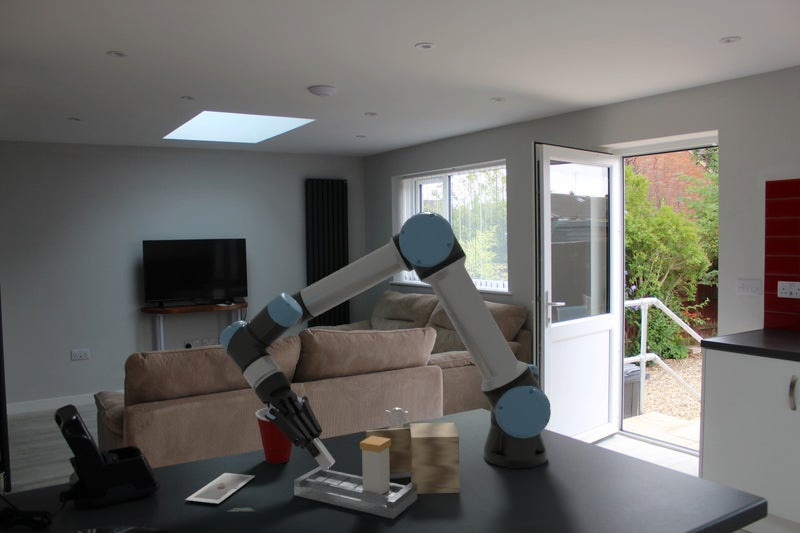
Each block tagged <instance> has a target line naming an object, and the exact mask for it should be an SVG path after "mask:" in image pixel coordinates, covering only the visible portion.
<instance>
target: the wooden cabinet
mask: <svg viewBox="0 0 800 533" xmlns="http://www.w3.org/2000/svg"><path fill="white" fill-rule="evenodd" d="M370 436H376V437H383V438H389V439H391V446H390V447H389V474H390V475H391V474H401V473H402V474H403V473H410V483H416V484H417V495H421V494H423V495H424V494H455V493H456V494H458V493H459V494H460V492H461V491H460V487H461V486H460V484H461V482H460V481H461V480H460V479H461V478H460V436H459V433H458V430H457V427H456V424H455V422H417V423H416V422H415V423H413V422H412V423H409V427H403V428H393V429H388V428H384V429H383V428H381V429H367V430H365V439H367V438H369V437H370Z"/></svg>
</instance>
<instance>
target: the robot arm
mask: <svg viewBox="0 0 800 533" xmlns="http://www.w3.org/2000/svg"><path fill="white" fill-rule="evenodd" d="M466 260H467V255H466V252H465V251H464V249H463V247H462V246H461V244H460V242H459V240H458V239H457V237H456V235H455V233H454V230H453V227H452V225H451V224H450V222H449V221H448V220H447V219H446V218H445V217H444V216H443V215H442V214H441V215H440V213H437V212H433V211H422V212H421V211H420V212H418V213H416V214H413V215H412V216H411V217H410V218H407V220H406V221H405V222H404V223H403V225H402V226H401V228H400V231H399V232H398V233H396V234H395V235H393V236H391V237H390V239H389V242H388V243H387V244H385V245H383V246H380V247H379V248H378V249H376V250H374V251H371V252H370V253H368V254H366V255H365V256H363V257H361V258H359V259H357V260H355V261H353V262H351V263H349V264H348V265H346V266H344V267H342V268H340V269H339V270H336V271H334V272H332V273H331V274H329V275H328V276H325V277H323V278H322V279H320V280H318V281H316V282H314V283H311V284H310V285H309V286H306V287H305V288H303V289H301V290H299V291H298V292H294V294H292V295H290V294H287V293H285V292H280V293H278V294H277V295H276V296H275V297H274V298H272V299H270V300H269V301H268V303H266V305H265V306H264V307H263V308H262V309H261V310H260V311H259V312H257V314H256V315H255V316H253V318H251V320H250V321H248V322H247V321H245V320H237V321H235V322H233V323H231V324H230V325H228V326H227V327H226V328H224V330H222V332H221V333H220V336H219V342H220V345H221V346H222V347H223V349H224V351H225V352H226V355H227V356H228V357H229V358H230V360H231V361H232V362H233V363H234V366H236V368H237V369H238V371H239V372H240V373H241V374H242V376H243V377H244V378H245V380H246V381H247V383H248V385H249V386H250V387H251V389H252V390H254V393H255V395H256V396H257V398H258V399H259V400H260V402H261V403H262V404H263V405H266V408H269V410H268V412H267V413H266V414H265V418H266V419H267V420H269V421H270V422H272V423H273V424H274V425H275V426H276V427H277V428H278V429H279V430H280V431H281V432H282V433H283V434H284V435H285V436H286V437H287V438H288V439H289V440H290V441H291V442H292V443H293V444H292V445H294V447H297V448H298V447H299V448H300V449H301V450H303V449H305V448H306V450H307V451H308V453H309V454H310V455H311V457H312V458H314V459H315V460H316V462H317V463H318V465H319V466H321V467H322V469H323V470H324V471H326V470H330V468H332V466H333V465H334V464H335V463H336V460H335V458H333V456H332V454H331V453H330V452H329V450H328V448H327V446H326V445H325V443H324V442H323V441H322V440H321V438H320V436H321V435H322V432H323V429H322V427H321V425H320V423H319V420H318V418H317V417H316V415H315V413H314V411H313V409H312V407H311V405H310V403H309V402H310V401H309V398H308V396H306V395H304V396H303V397H300V396H298V395H297V393H296V392H294V391H293V390H292V388H291V385H292V383H291V381H290V379H289V378H288V376H287V375H286V374H285V372H283V371H281V367H280V366H279V363H278V362H276V361H275V358H273V357H272V355H271V354H270V353H269V351H268V349H269V348H270V347H272V346H273V345H274V343H276V342H277V341H278V340H279V339H281V337H282V336H283V335H284V334H286V333H287V332H289V331H291V330H293V329H295V328H297V327H298V328H299V327H300V326H302V325H304V324H305V323H307V322H308V321H311V320H312V319H314V318H316V317H317V316H319V315H321V314H324V313H325V312H327V311H329V310H331V309H332V308H334V307H336V306H338V305H340V304H342V303H344V302H345V301H348V300H350V299H352V298H353V297H355V296H357V295H359V294H361V293H364V292H365V291H367V290H369V289H371V288H373V287H374V286H376V285H379V284H380V283H383V282H384V281H386V280H389V279H390V278H392V277H394V276H395V275H398V274H399V273H402V272H403V271H406V272H409V273H411V272H412V271H414V272H415V274H416V276H417V277H418V279H419V281H420V282H421V283H423V284H427V285H429V286H431V288H432V290H433V292H434V294H435V296H436V298H437V299H438V301H439V303H440V304H441V306H442V308H443V310H444V312H445V313H446V315H447V317H448V318H449V321H450V322H451V324H452V326H453V327H454V330H455V331H456V333H457V335H458V337H459V338H460V340H461V342H462V344H463V345H464V347H465V349H466V350H467V352H468V354H469V356H470V358H471V360H472V362H473V363H474V365H475V367H476V369H477V370H478V372H479V374H480V375H481V377H482V383H481V387H480V390H481V391H482V393H483V395H484V397H485V399H486V401H487V402H488V404H489V406H490V426H489V428H488V433H487V434H486V435H487V436H486V439H485V442H484V445H483V458H484V459H485V460H486V461H487V462H488V463H491V464H493V465H495V466H499V467H502V468H509V469H510V468H511V469H529V468H536V467H539V466H541V465H544V464H545V463H546V462H547V458H548V457H547V448H546V445H545V442H544V438H543V434H542V432H543V431H544V430H545V429H546V428H547V426H548V424H549V422H550V419H551V414H552V413H551V403H550V400H549V397H548V396H547V395H546V393H545V392H544V391H543V390H542V387H541V386H540V383H539V379H540V373H539V372H540V371H539V367H538V366H537V365H536V364H531V363H530V364H528V363H526V362H523V361H520V360H518V359H517V358H516V355H515V354H514V351H512V349H511V347H510V345H509V343H508V341H507V339H506V337H505V336H504V334H503V332H502V331H501V329H500V327H499V326H498V323H497V322H496V320H495V318H494V316H493V314H492V313H491V311H490V309H489V308H488V306H487V304H486V302H485V301H484V299H483V296H482V294H480V292H479V289H478V288H477V286H476V285H475V284H476V283H474V281H473V279H472V277H471V276H470V274H469V272H468V270H467V268H466V267H465V263H466Z"/></svg>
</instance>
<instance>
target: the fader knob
mask: <svg viewBox="0 0 800 533" xmlns="http://www.w3.org/2000/svg"><path fill="white" fill-rule="evenodd" d="M390 446H391V439H389V438H383V437H376V436H370V437H369V438H367V439H366V438H365V439H363V440H362V441H360V442H359V450H361V455H362V456H361V458H362V461H361V462H362V463H361V466H362V470H361V471H362V477H363V491H368V492H372V493H377V494H381V495H382V494H384V493H385V492H386V491H388V490H389V489H390V483H391V482H390V481H391V480H390V478H391V477H390V476H391V474H389V447H390Z"/></svg>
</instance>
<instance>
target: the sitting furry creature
mask: <svg viewBox="0 0 800 533" xmlns="http://www.w3.org/2000/svg"><path fill="white" fill-rule="evenodd" d="M384 413H385V415H387V420H388V423H389V424H390V425H389V427H388V428H387V429H393V428H404V424H405V423H406V422H407V414H408V410H406V411H405V410H404V409H403V408H400V407H398V406H397V407H393V408H391V409H390V410H384Z"/></svg>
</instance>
